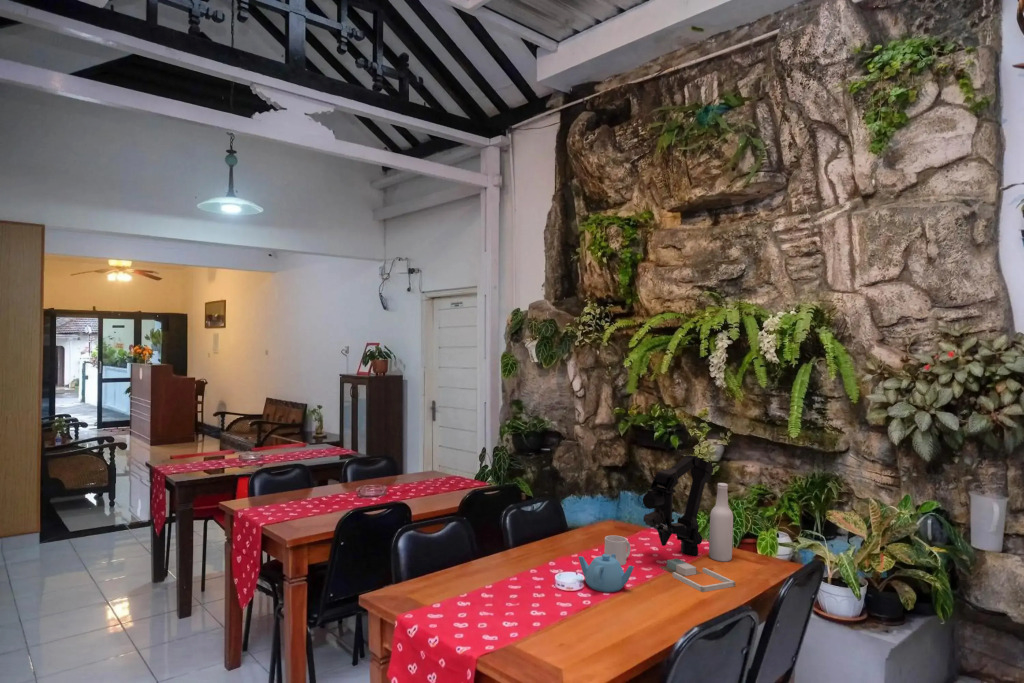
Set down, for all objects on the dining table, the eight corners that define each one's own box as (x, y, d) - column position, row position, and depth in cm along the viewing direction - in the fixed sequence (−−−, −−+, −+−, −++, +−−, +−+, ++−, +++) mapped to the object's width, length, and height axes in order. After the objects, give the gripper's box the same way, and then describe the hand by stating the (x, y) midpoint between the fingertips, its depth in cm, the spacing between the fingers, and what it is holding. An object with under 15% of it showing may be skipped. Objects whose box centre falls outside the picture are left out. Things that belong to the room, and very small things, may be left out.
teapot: (575, 579, 222) (576, 549, 222) (613, 576, 226) (614, 546, 227) (594, 596, 207) (595, 563, 207) (634, 592, 212) (635, 560, 212)
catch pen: (672, 581, 223) (672, 572, 224) (704, 575, 230) (704, 567, 230) (702, 596, 210) (702, 587, 210) (735, 590, 216) (735, 581, 217)
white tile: (676, 571, 229) (676, 564, 229) (686, 569, 231) (686, 563, 231) (685, 576, 225) (685, 569, 225) (696, 574, 227) (696, 567, 227)
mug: (622, 559, 245) (623, 532, 246) (637, 565, 239) (638, 538, 239) (599, 564, 239) (600, 537, 239) (614, 570, 232) (615, 543, 232)
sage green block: (666, 566, 234) (666, 560, 234) (677, 565, 236) (677, 558, 236) (675, 571, 229) (675, 564, 229) (686, 569, 232) (686, 562, 232)
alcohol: (709, 560, 248) (711, 484, 248) (708, 553, 256) (711, 480, 257) (732, 563, 245) (734, 487, 246) (731, 556, 254) (733, 482, 254)
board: (658, 570, 233) (659, 566, 233) (681, 567, 238) (681, 563, 238) (678, 581, 223) (678, 577, 223) (702, 577, 228) (702, 573, 228)
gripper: (633, 501, 245) (631, 540, 245) (664, 513, 228) (662, 555, 228) (655, 498, 250) (654, 537, 250) (687, 510, 233) (686, 552, 233)
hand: (663, 545), depth 240 cm, fingers closed
